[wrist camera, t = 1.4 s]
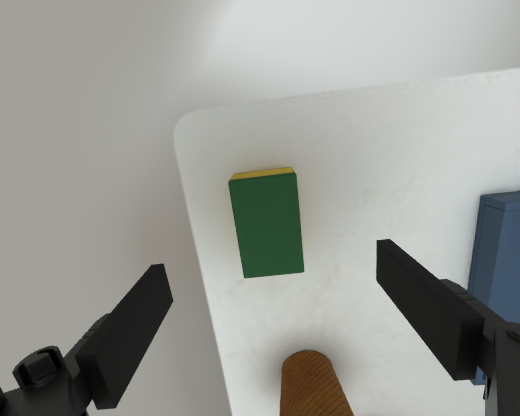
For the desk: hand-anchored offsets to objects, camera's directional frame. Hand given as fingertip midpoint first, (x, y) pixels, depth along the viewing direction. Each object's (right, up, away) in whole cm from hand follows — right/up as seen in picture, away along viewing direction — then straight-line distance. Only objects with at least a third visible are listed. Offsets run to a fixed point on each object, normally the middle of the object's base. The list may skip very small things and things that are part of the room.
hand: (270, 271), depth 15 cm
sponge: (0, +3, +10) cm, 10 cm away
